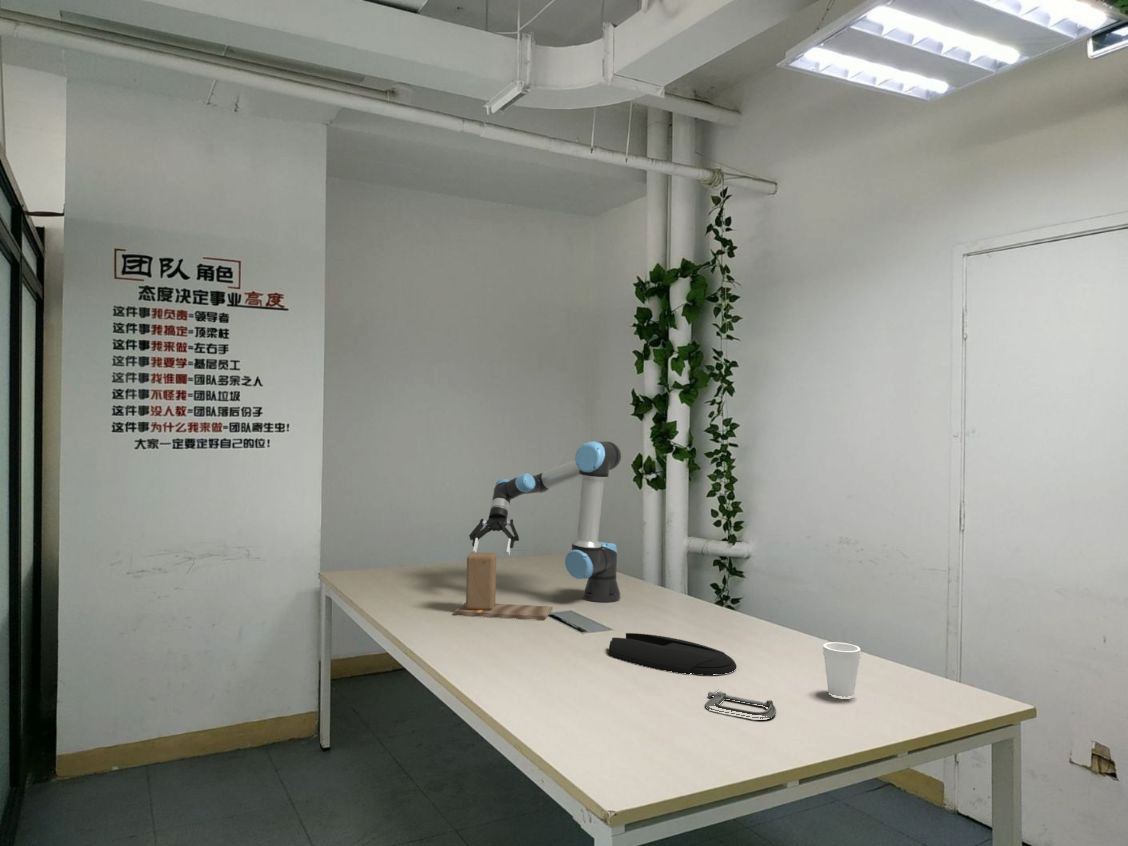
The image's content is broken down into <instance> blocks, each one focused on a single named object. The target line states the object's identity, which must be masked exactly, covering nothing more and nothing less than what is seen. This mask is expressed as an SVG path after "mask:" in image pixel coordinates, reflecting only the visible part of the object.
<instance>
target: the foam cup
mask: <svg viewBox="0 0 1128 846" xmlns="http://www.w3.org/2000/svg"><path fill="white" fill-rule="evenodd" d="M822 649H823V650H822V654H823V657H824V665H825V675H826V684H827V693H828V692H829V693H830V694H832V695H836V696H842V697H844V696H845V697H848V696H852V695H854V696H855V689H856V684H857V678H858V670H859V666H860V665H859V664H860V660H861V653H862V652H861V648H860V647H859V646H858V645H856V644H855V645H854V644H851V643H847V642H834V641H833V642H826V643H824V644H823V645H822ZM829 693H828V694H829Z"/></svg>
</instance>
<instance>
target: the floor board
mask: <svg viewBox="0 0 1128 846" xmlns="http://www.w3.org/2000/svg"><path fill="white" fill-rule="evenodd" d="M553 610H554V609H553V606H549V605H548V606H546V605H532V604H531V605H528V604H527V605H526V604H511V603H509V604H508V603H495V605H494V606H493V608H492V609H491V610H470V609H467V608H466V602H465V603H463V604H461V605H460V606H458V608H457V609H455V610H454V611H453V615H454V616H457V615H464V616H463V617H475V616H484V617H483V618H492V617H500V618H499V619H509V618H516V619H515V620H527V619H537V620H536V621H544V620H545V619H546V620H547V618H548V617H549V616H550V615H551V613H552V612H553ZM551 611H552V612H551ZM550 612H551V613H550ZM549 614H550V615H549ZM466 615H467V616H466ZM548 615H549V616H548ZM517 618H518V619H517ZM546 620H545V621H546Z"/></svg>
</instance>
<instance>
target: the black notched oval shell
mask: <svg viewBox="0 0 1128 846" xmlns="http://www.w3.org/2000/svg"><path fill="white" fill-rule="evenodd" d="M611 638H612V639H611V640H610V641H609V645H608V655H609V657H611V656H612V657H611V658H614V659H616V658H617V659H616V660H619V659H621V661H623V660H624V661H623V662H626V661H627V663H629V662H631V663H630V664H633V663H635V664H634V665H637V664H639V665H638V666H641V665H643V666H642V667H645V666H646V668H649V667H650V669H654V668H655V670H658V669H660V670H659V671H663V670H666V671H665V672H668V671H672V672H671V673H674V672H678V673H677V674H679V673H686V674H690V673H692V674H693V673H694V674H693V675H695V674H703V675H702V676H706V675H713V674H725V673H729V672H732V671H734V670H735V669H736V668H737V664H736V662H735V660H734V659H733V658H732V657H731V656H730V655H728V654H727V653H726V652H724V651H722V650H718V649H716V648H713V647H710V646H707V645H703V644H700V643H696V642H692V641H688V640H684V639H679V638H675V637H674V638H673V637H669V636H663V635H656V634H649V633H647V634H646V633H636V632H635V633H634V632H630V633H629V632H625V637H611ZM737 669H738V668H737ZM737 669H736V670H737ZM736 670H735V671H736ZM735 671H734V672H735ZM732 673H733V672H732ZM686 674H685V675H686ZM729 674H730V673H729ZM725 675H726V674H725Z"/></svg>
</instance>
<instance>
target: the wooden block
mask: <svg viewBox="0 0 1128 846" xmlns="http://www.w3.org/2000/svg"><path fill="white" fill-rule="evenodd" d="M465 585H466V589H465V593H466V594H465V603H466V608H467V609H470V610H491V609H492V608H493V606H494V605H495V604H496V592H497V591H496V590H497V589H496V588H497V586H496V585H497V554H496V553H495V552H482V551H481V552H479V551H477V552H473V551H472V552H470V553H469V555H467V557H466V583H465Z"/></svg>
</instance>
